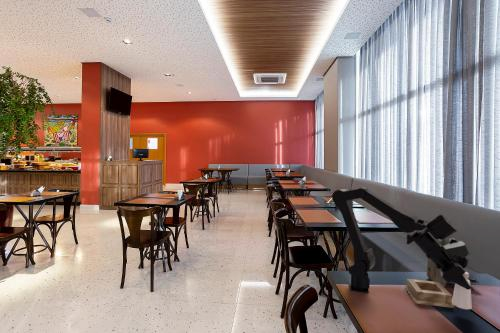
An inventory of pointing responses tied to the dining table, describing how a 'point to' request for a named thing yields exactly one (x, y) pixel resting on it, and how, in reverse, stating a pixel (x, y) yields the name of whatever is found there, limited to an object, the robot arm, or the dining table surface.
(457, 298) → the pepper shaker
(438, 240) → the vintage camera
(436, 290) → the socket holder
